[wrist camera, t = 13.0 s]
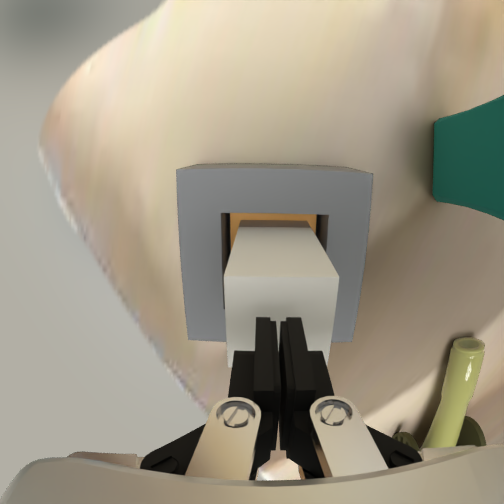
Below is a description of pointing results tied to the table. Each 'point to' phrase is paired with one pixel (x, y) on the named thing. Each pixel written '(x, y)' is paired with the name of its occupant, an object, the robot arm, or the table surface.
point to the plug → (279, 283)
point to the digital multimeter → (471, 158)
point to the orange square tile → (237, 217)
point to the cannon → (455, 401)
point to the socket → (268, 201)
